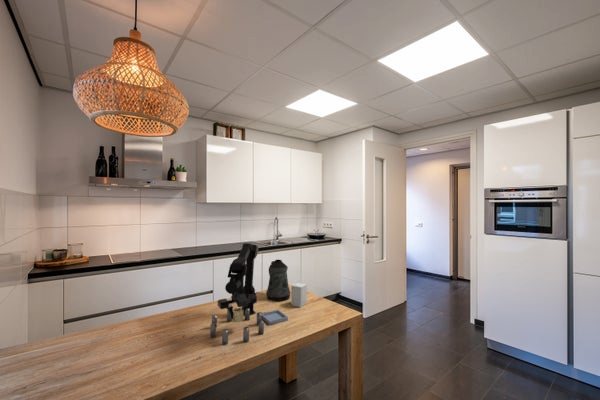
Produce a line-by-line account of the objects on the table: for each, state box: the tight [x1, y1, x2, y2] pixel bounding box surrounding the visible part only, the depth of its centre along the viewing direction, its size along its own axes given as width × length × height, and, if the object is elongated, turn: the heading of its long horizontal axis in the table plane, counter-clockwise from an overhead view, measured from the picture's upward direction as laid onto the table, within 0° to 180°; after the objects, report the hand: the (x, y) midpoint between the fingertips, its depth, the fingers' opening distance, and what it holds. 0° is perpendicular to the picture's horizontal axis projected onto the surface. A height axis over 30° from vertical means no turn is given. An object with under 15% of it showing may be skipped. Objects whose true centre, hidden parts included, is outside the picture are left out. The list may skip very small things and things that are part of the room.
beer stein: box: [265, 259, 291, 303], centre depth 182 cm, size 16×19×25 cm
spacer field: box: [209, 308, 265, 346], centre depth 135 cm, size 27×27×6 cm
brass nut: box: [231, 307, 244, 323], centre depth 134 cm, size 6×5×5 cm
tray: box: [261, 309, 289, 326], centre depth 148 cm, size 11×11×2 cm
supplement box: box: [290, 282, 308, 308], centre depth 169 cm, size 7×7×13 cm
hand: (237, 317), depth 134 cm, fingers closed on brass nut, 5 cm apart
